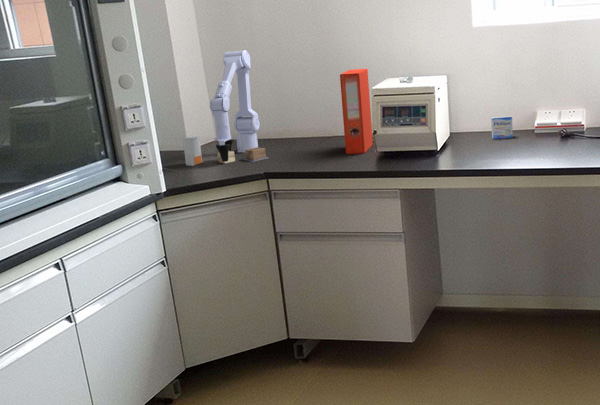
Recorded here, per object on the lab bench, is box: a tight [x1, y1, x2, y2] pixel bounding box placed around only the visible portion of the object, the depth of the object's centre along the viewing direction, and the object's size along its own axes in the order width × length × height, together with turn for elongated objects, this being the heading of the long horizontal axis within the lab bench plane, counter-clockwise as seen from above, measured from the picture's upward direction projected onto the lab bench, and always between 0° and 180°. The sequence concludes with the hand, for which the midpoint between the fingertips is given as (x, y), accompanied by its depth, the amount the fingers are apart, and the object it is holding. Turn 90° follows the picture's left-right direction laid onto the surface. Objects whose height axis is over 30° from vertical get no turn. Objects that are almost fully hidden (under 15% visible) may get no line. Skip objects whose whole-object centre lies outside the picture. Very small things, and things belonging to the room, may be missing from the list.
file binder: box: [339, 68, 374, 155], centre depth 317 cm, size 8×17×32 cm, turn 164°
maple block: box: [217, 150, 236, 164], centre depth 321 cm, size 5×5×4 cm
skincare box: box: [182, 135, 203, 167], centre depth 323 cm, size 6×4×12 cm
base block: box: [245, 146, 267, 162], centre depth 320 cm, size 6×6×4 cm
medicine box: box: [490, 115, 514, 140], centre depth 313 cm, size 8×4×9 cm, turn 81°
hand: (226, 159), depth 321 cm, fingers closed on maple block, 7 cm apart
